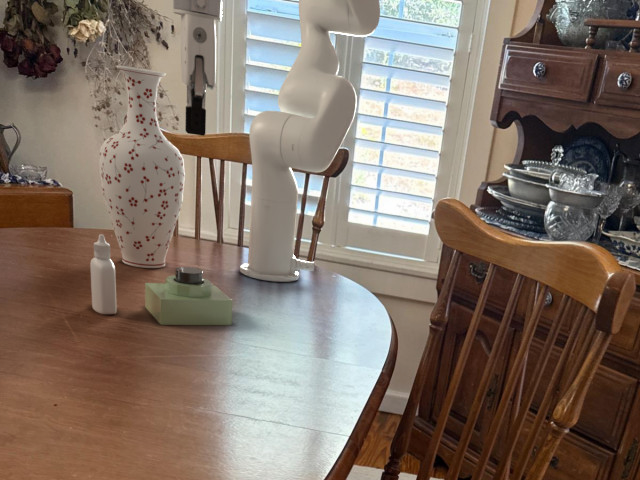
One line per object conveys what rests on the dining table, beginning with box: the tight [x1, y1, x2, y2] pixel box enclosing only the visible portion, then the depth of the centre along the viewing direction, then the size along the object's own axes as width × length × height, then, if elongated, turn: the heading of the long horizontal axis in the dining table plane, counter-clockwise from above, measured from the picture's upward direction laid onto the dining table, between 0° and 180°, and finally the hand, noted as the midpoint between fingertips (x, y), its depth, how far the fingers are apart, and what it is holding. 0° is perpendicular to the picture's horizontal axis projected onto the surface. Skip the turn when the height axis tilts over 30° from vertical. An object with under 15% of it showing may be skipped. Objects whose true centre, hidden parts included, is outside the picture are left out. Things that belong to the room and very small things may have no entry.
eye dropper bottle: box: [89, 233, 117, 315], centre depth 125 cm, size 4×6×12 cm
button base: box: [144, 274, 234, 326], centre depth 131 cm, size 12×10×6 cm
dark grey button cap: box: [174, 266, 204, 285], centre depth 129 cm, size 4×4×2 cm
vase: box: [98, 65, 186, 269], centre depth 151 cm, size 16×16×35 cm
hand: (195, 133), depth 133 cm, fingers closed
